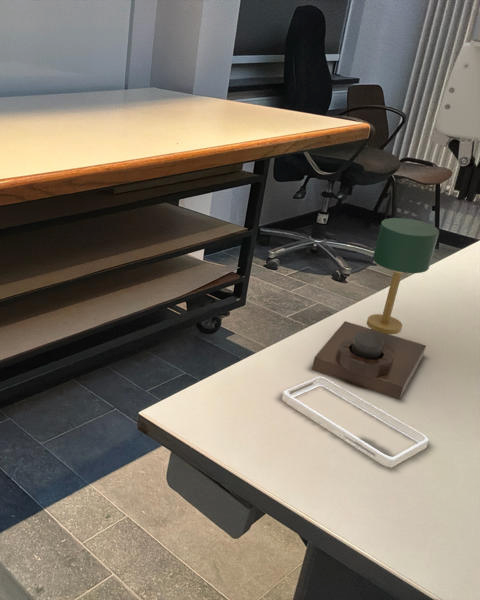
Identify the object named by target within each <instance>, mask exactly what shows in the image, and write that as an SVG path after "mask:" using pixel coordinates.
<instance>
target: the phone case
mask: <svg viewBox="0 0 480 600" xmlns="http://www.w3.org/2000/svg"><path fill="white" fill-rule="evenodd" d="M311 383H312V384H311ZM309 384H311V385H309ZM307 385H308V386H307ZM302 387H303V388H302ZM319 387H322V388H324V389H326V390H328V391H330V392H331V393H333V394H335V395H336V396H338V397H340V398H341V399H343V400H345V401H346V402H348V403H349V404H352V405H353V406H354V407H356V408H358V409H360V410H362V411H364V412H366V414H368V415H370V416H372V417H374V418H375V419H377V420H379V421H380V422H382V423H384V424H385V425H387V426H389V427H391V428H392V429H394V430H396V431H398V432H399V433H401V434H403V435H404V436H406V437H408V438H410V439H411V440H413V441H414V442H416V443H415V444H414V445H412V446H410V447H408V448H407V449H405V450H403V451H401V452H399V453H397V454H396V455H394V456H390V455H387V454H385V453H383V452H381V451H380V450H378V449H377V448H375V447H373V446H372V445H371V444H369V443H367V442H366V441H364V440H362V439H361V438H359V437H357V436H356V435H355V434H353V433H352V432H350V431H348V430H347V429H345V428H343V427H342V426H340V425H339V424H337V423H335V422H334V421H332V420H331V419H329V418H328V417H326V416H324V415H322V414H321V413H319V412H317V411H316V410H315V409H313V408H311V406H308V405H307V404H305V403H304V402H302V401H300V400H299V399H297V398H295V397H297V396H299V395H303V394H304V393H307V392H309V391H311V390H313V389H316V388H319ZM300 388H301V389H300ZM297 389H299V390H297ZM295 390H296V391H295ZM293 391H295V392H293ZM281 398H282V399H281V400H282V401H283V402H284V403H285V404H287V405H288V406H289V407H291V408H293V409H295V410H296V411H298V412H299V413H301V414H302V415H303V416H306V417H307V418H308V419H310V420H311V421H313V422H315V424H317V425H319V426H321V427H322V428H324V429H325V430H327V431H329V432H330V433H332V434H333V435H335V436H336V437H338V438H340V439H341V440H343V441H344V442H346V443H348V444H349V445H351V446H352V447H354V448H355V449H357V450H358V451H360V452H362V453H363V454H365V455H366V456H368V457H369V458H371V459H373V460H374V461H375V462H377V463H379V464H380V465H382V466H383V467H386V468H390V469H391V468H394V467H395V466H397V465H399V464H400V463H402V462H404V461H406V460H408V459H409V458H411V457H413V456H414V455H416V454H418V453H420V452H422V451H423V450H425V449H427V446H428V444H429V440H430V439H429V438H428V436H427V435H425V434H423V433H422V432H420V431H419V430H417V429H415V428H414V427H411V426H409V425H408V424H407V423H405V422H403V421H401V420H399V419H398V418H396V417H394V416H393V415H391V414H389V413H388V412H386V411H384V410H382V409H380V408H378V407H377V406H375V405H374V404H372V403H371V402H368V401H366V400H364V399H363V398H361V397H360V396H358V395H356V394H354V393H352V392H351V391H349V390H347V389H346V388H344V387H342V386H340V385H338V384H336V383H335V382H334V381H332V380H330V379H328V378H326V377H324V376H320V375H319V376H316V377H313V378H311V379H309V380H306V381H303V382H301V383H299V384H297V385H295V386H292V387H290V388H287V389H284V390H283V392H282V397H281ZM348 438H349V439H348ZM351 440H352V441H351ZM353 441H354V442H355V443H354V442H353ZM356 443H357V444H356ZM364 448H365V449H364Z"/></svg>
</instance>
